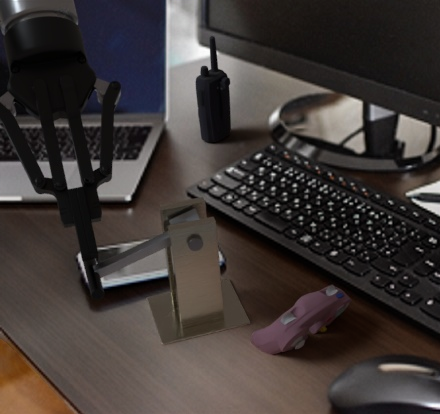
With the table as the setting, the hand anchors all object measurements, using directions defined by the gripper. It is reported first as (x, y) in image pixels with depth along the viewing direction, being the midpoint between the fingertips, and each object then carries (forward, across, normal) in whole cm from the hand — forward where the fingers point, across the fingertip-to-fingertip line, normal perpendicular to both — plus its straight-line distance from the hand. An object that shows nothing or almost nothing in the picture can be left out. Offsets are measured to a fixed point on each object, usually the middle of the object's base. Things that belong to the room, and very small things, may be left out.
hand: (90, 256), depth 79 cm
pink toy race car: (+12, +18, +2) cm, 22 cm away
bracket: (+7, +10, +7) cm, 14 cm away
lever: (+1, +5, +1) cm, 6 cm away
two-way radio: (-21, +22, +35) cm, 47 cm away
